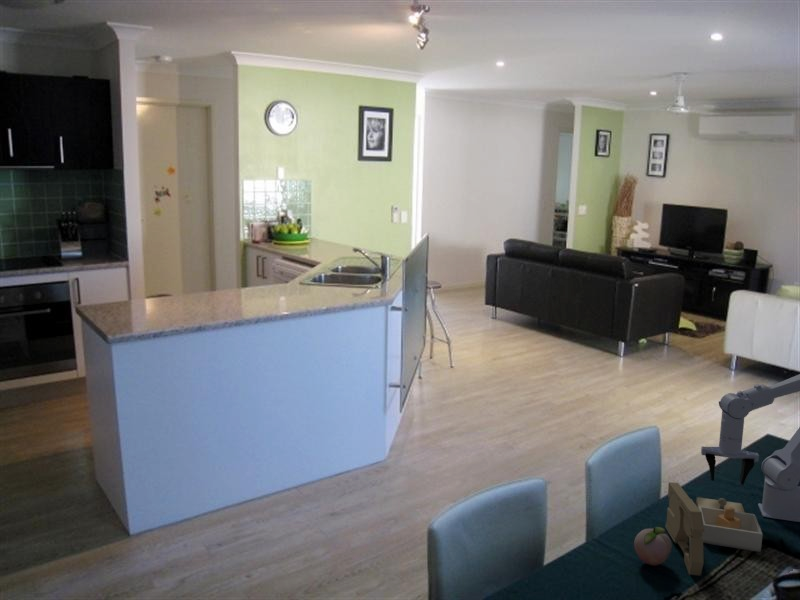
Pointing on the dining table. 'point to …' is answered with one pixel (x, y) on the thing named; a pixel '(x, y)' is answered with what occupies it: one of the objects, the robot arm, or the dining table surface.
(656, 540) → the decorative fruit
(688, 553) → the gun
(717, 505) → the stud board
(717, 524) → the orange knobbed block
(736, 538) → the bin
